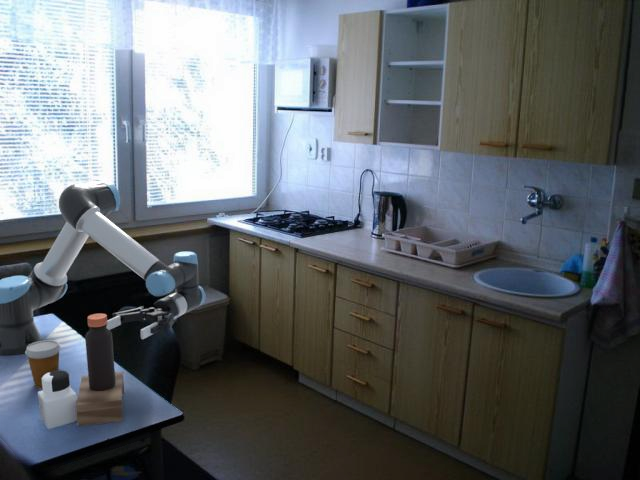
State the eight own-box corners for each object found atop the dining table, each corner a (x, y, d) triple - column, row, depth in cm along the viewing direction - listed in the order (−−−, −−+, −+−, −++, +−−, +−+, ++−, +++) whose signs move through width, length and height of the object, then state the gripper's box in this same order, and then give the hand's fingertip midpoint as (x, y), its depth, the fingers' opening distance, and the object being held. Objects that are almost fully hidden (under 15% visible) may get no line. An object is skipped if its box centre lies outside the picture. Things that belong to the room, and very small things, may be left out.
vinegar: (119, 386, 169) (114, 317, 164) (94, 393, 165) (88, 322, 160) (110, 378, 174) (105, 310, 170) (85, 384, 170) (79, 315, 165)
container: (69, 409, 169) (65, 365, 166) (79, 420, 163) (75, 374, 160) (39, 418, 164) (35, 372, 161) (48, 430, 158) (43, 383, 155)
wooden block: (83, 395, 177) (82, 375, 175) (124, 390, 180) (122, 371, 178) (78, 426, 160) (76, 405, 159) (122, 420, 163) (121, 399, 162)
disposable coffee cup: (50, 392, 178) (47, 353, 176) (21, 389, 180) (17, 350, 178) (70, 378, 188) (67, 340, 185) (42, 375, 189) (38, 338, 187)
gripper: (203, 325, 190) (158, 350, 171) (138, 314, 200) (89, 336, 181) (202, 302, 188) (157, 324, 170) (136, 291, 198) (87, 312, 179)
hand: (122, 330), depth 175 cm, fingers open, 13 cm apart
